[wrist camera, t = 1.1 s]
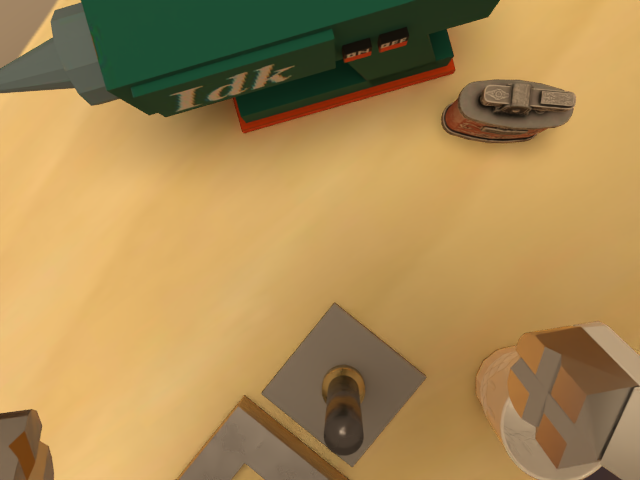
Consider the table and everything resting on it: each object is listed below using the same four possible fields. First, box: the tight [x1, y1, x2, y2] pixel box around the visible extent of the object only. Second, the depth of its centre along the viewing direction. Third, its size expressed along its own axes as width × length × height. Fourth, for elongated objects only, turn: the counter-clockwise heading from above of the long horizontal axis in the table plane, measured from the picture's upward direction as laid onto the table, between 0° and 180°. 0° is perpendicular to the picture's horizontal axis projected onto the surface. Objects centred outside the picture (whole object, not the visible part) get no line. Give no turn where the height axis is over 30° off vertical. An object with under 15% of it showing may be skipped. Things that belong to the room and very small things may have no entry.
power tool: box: [0, 0, 500, 133], centre depth 39 cm, size 32×7×20 cm, turn 106°
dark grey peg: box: [322, 365, 365, 456], centre depth 43 cm, size 4×4×12 cm
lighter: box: [441, 80, 576, 143], centre depth 43 cm, size 8×3×10 cm, turn 84°
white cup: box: [476, 346, 602, 480], centre depth 44 cm, size 8×8×10 cm
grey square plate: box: [261, 303, 426, 467], centre depth 49 cm, size 10×10×1 cm
